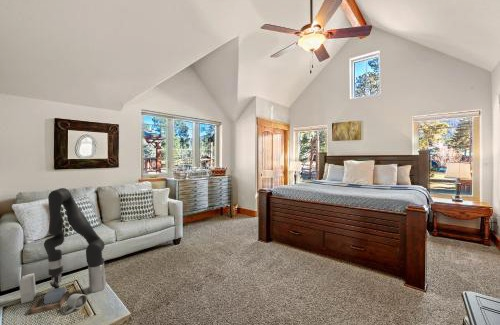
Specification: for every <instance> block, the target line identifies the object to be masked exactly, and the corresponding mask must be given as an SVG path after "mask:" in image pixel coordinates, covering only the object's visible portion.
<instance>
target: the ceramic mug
mask: <svg viewBox="0 0 500 325" xmlns="http://www.w3.org/2000/svg"><path fill="white" fill-rule="evenodd" d="M87 300H88V297H87V295H86V294H82V293H73V294H71V295H70V296H69V297H67V300H66V306H65V307H64V309H63V313H64V314H66V315H68V314H70V313H72V312H73V311H74V310H80V309H82V308H83V307H84V306H85V305H86V304H87ZM69 308H70V309H69ZM68 309H69V310H68ZM67 310H68V311H67Z"/></svg>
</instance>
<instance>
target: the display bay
mask: <svg viewBox="0 0 500 325" xmlns="http://www.w3.org/2000/svg"><path fill="white" fill-rule="evenodd" d="M68 293H69V292H68V291H66V293H65V294H64V296H63V297H62V299H61V300H60V301H58V303H52V304H47V305H44V306H38V305H40V303H41V302H42V297H41V296H40V297H38V298H37V299H36V301H35V302H33V304H32V306H31V307H30V308H29V310H28V315H33V314H37V313H42V312H47V311H52V310H55V309H60V308H62V306H63V304H64V303H65V301H66V299H68V296H69V294H68Z"/></svg>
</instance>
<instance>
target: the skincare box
mask: <svg viewBox="0 0 500 325" xmlns="http://www.w3.org/2000/svg"><path fill="white" fill-rule="evenodd" d="M18 282H19V294H20V301H21V302H20V303H21V304H25V303H28V302H33V301H34V299H35V297H36V295H37V289H36V279H35V273H34V272H33V273H30V274H26V275H22V277H21V278H20V280H19V281H18Z"/></svg>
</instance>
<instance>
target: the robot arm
mask: <svg viewBox="0 0 500 325" xmlns="http://www.w3.org/2000/svg"><path fill="white" fill-rule="evenodd" d="M47 202H48V209H49V210H48V211H49V224H48V233H49V235H52V237H49V238H46V239H45V240H44V242H43V247H44V250H45V252H46V254H47V270H48V272H47V273H48V276H50V277H51V281H50V283H49V284H50V286H51V287H52V288H53V289H57V288H60V283H61V282H62V276H63V272H64V264H63V263H64V262H63V255H62V254H63V253H62V250H61V249H59V248H57V247H59V246H62V245H63V244H64V241H65V236H64V232H63V226H64V218H63V215H62V210H61V209H62V207H63V208H64V209H65V213H66V218H67V222H68V224H69V226H70V227H71V229H72V230H73V231H74V233H75V232H76V233H77V234H78V235H80V236H81V237H83V238H84V239H85V241H86V242H87V244H88V245H87V246H86V249H85V256H86V257H85V258H86V263H87V268H88V290H89V292H90V293H96V292H100V291H102V290H104V289H105V288H106V285H107V279H106V278H107V277H106V271H105V258H104V257H103V250H104V248H105V247H106V246H105V244H106V243H105V242H104V241H103V239H102V238H101V237H100V236H99V235H98V234H97V233H96V231H95V230H94V228H93V227H92V225H91V224H90V222H89V220H88V219H87V217H86V216H85V214H84V213H83V212H82V210H81V208H79V206H78V205H77V202H76V201H75V198H74V197H73V195H72V193H71V191H70V190H68V189H67V188H66V187H61V188H57V189H55V190H52V191H50V192H49V194H48V201H47ZM56 248H57V249H56Z"/></svg>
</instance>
